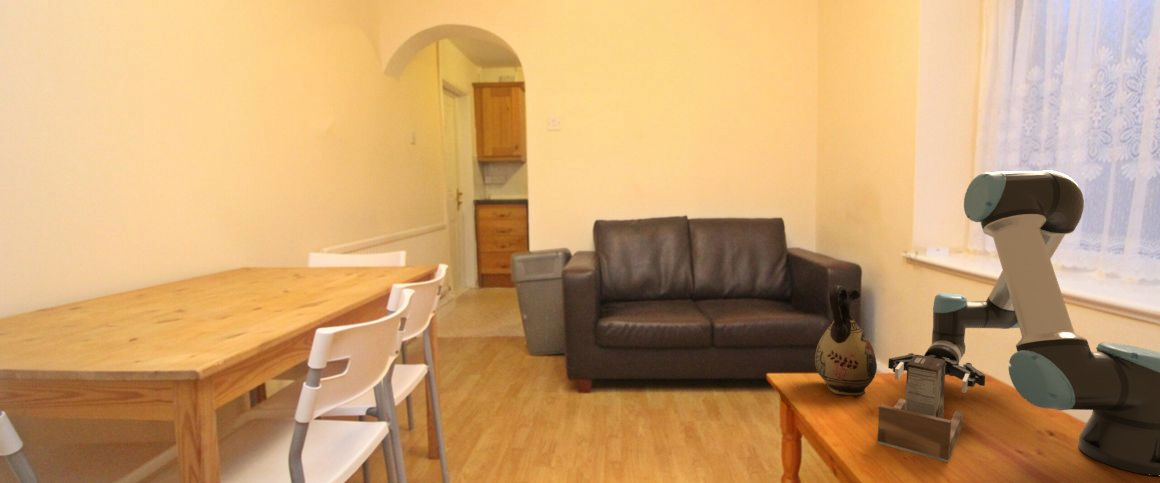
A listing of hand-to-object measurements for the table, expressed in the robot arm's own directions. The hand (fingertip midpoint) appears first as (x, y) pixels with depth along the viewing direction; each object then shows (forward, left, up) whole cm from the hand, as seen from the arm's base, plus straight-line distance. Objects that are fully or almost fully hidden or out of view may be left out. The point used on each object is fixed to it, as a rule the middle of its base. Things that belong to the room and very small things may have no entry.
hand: (929, 380), depth 126 cm
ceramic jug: (+22, -4, -11) cm, 25 cm away
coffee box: (-1, +6, -10) cm, 12 cm away
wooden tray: (-2, +8, -10) cm, 13 cm away
